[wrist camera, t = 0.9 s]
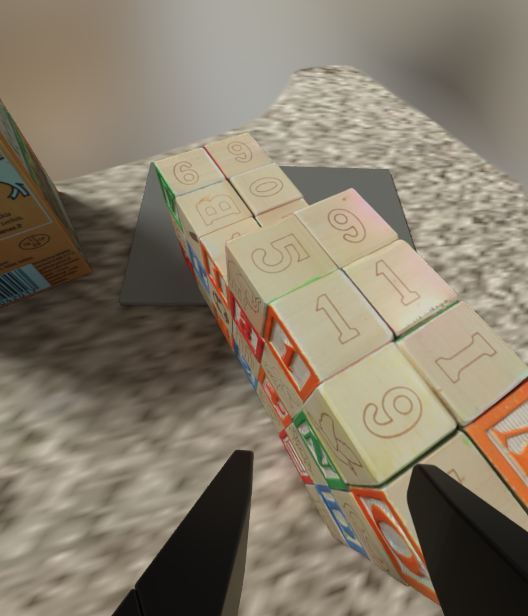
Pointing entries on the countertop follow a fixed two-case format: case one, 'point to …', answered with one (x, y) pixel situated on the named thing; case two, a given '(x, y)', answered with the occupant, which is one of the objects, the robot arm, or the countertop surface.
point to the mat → (166, 250)
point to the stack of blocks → (350, 349)
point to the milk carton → (32, 223)
